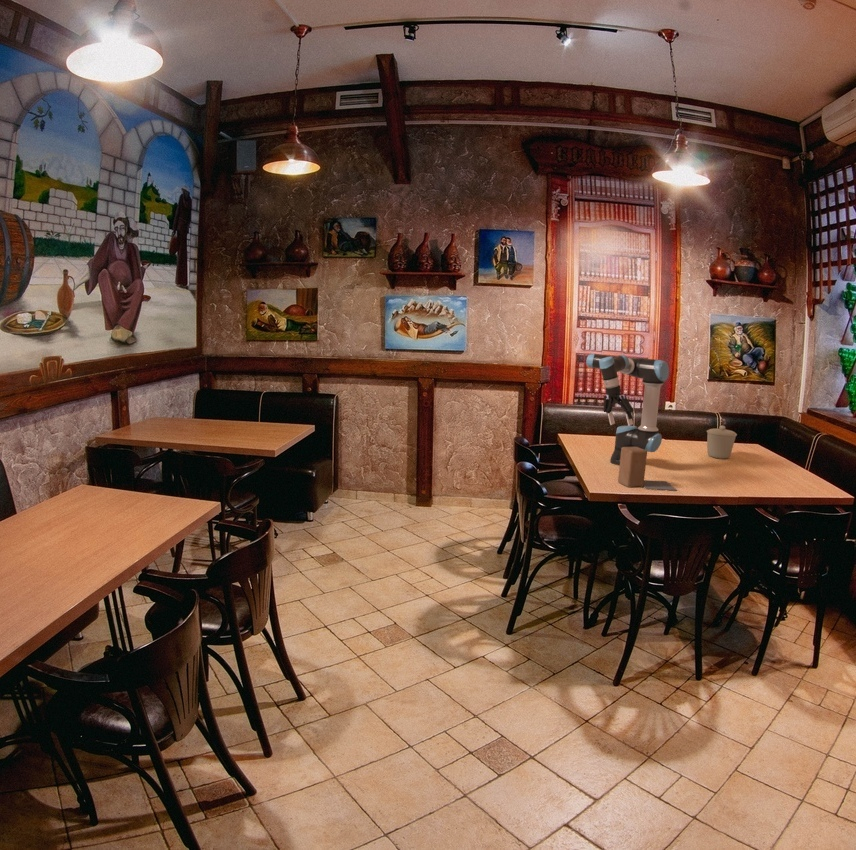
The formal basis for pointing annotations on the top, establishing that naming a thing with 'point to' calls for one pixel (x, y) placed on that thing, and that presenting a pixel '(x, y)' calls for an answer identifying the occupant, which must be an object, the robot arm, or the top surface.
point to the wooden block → (632, 466)
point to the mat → (658, 485)
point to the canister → (720, 442)
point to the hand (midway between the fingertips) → (621, 424)
